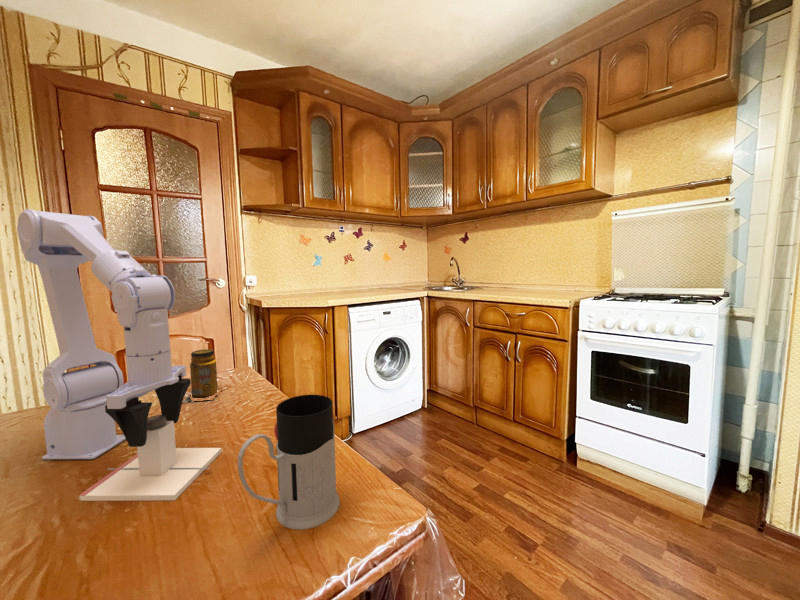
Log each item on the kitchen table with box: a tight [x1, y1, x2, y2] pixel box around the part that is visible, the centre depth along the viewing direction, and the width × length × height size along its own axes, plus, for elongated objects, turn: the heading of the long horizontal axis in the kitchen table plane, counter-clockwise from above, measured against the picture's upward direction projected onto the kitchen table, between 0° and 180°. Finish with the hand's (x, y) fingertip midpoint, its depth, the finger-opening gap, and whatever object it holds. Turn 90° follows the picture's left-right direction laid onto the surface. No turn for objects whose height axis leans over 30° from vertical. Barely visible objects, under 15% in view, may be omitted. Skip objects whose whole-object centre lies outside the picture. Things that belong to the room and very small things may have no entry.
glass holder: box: [237, 394, 341, 531], centre depth 45 cm, size 9×14×15 cm, turn 146°
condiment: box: [182, 348, 219, 404], centre depth 89 cm, size 7×8×12 cm
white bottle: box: [136, 414, 177, 475], centre depth 55 cm, size 4×4×9 cm
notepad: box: [78, 447, 223, 502], centre depth 56 cm, size 17×13×1 cm
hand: (155, 433), depth 55 cm, fingers open, 7 cm apart
